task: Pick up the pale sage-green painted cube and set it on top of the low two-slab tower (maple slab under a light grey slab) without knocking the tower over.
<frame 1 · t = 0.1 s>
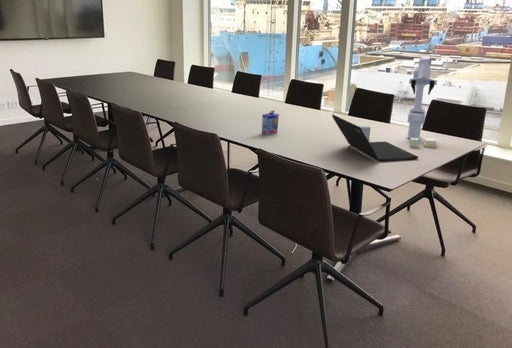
hand: (421, 93, 263), 32 cm above the table, tool tilted 50°, fingers open, 7 cm apart
laptop: (371, 153, 264), on the table
bottom slab: (429, 146, 281), on the table, touching top slab
top slab: (429, 143, 281), point 2 cm above the table, touching bottom slab
medicine box: (361, 140, 288), on the table
cube: (413, 146, 279), on the table
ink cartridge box: (269, 133, 297), on the table
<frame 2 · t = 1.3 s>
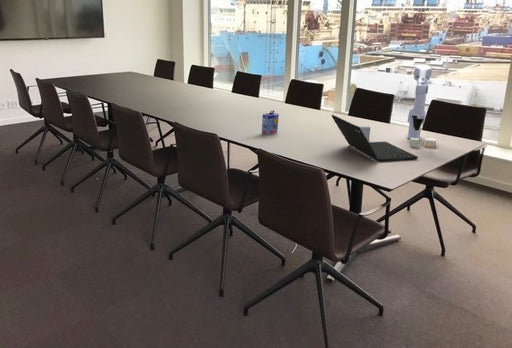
hand: (415, 129, 275), 10 cm above the table, tool pointing down, fingers open, 7 cm apart
nothing on the table moved.
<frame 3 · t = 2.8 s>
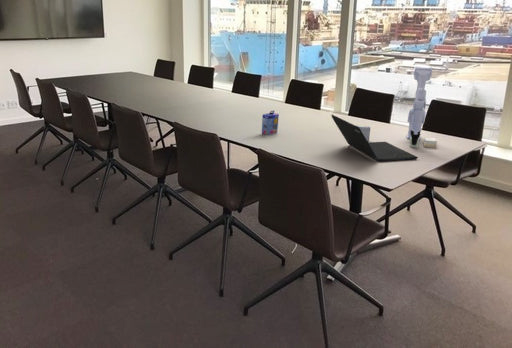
hand: (413, 143, 279), 1 cm above the table, tool pointing down, fingers closed on cube, 4 cm apart
bottom slab: (429, 146, 281), on the table
top slab: (429, 143, 280), point 2 cm above the table
cube: (413, 146, 279), on the table, touching gripper
everything else where it was.
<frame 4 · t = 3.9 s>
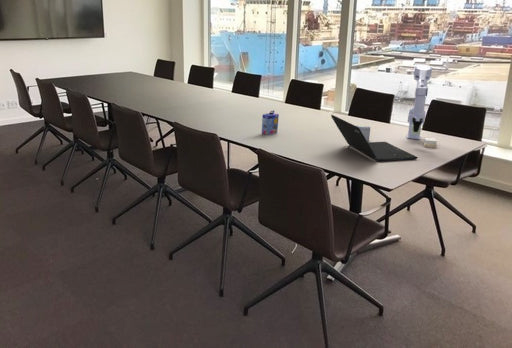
hand: (415, 131, 276), 9 cm above the table, tool pointing down, fingers closed on cube, 4 cm apart
bottom slab: (429, 146, 281), on the table, touching top slab
top slab: (429, 143, 281), point 2 cm above the table, touching bottom slab
cube: (415, 133, 277), point 8 cm above the table, touching gripper
everything else where it was.
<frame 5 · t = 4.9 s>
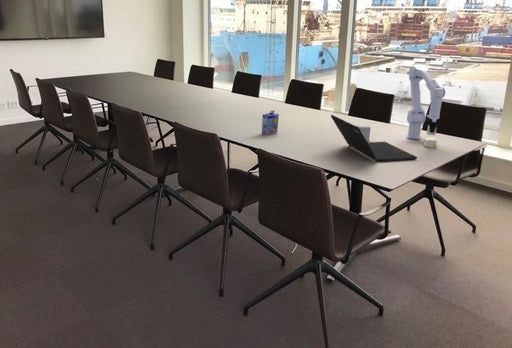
hand: (431, 131, 278), 9 cm above the table, tool pointing down, fingers closed on cube, 4 cm apart
cube: (431, 134, 279), point 7 cm above the table, touching gripper
everything else where it was.
when the fingers open (7 cm above the table, at t = 5.6 s): cube drops 2 cm, resting on top slab.
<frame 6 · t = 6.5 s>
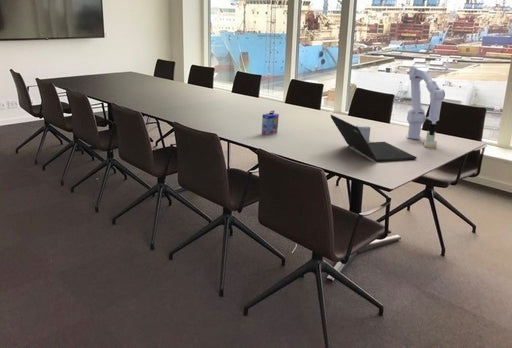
hand: (431, 133, 279), 7 cm above the table, tool pointing down, fingers open, 7 cm apart
top slab: (429, 143, 281), point 2 cm above the table, touching bottom slab, cube
cube: (430, 139, 280), point 4 cm above the table, touching top slab
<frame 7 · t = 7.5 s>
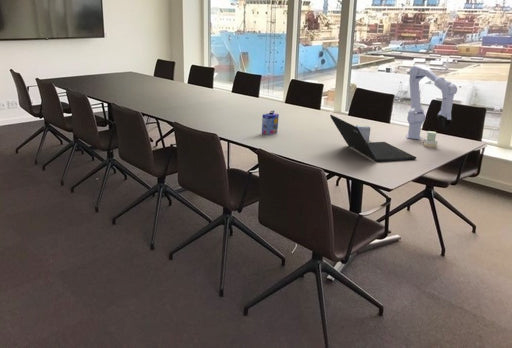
hand: (442, 129, 277), 10 cm above the table, tool pointing down, fingers open, 7 cm apart
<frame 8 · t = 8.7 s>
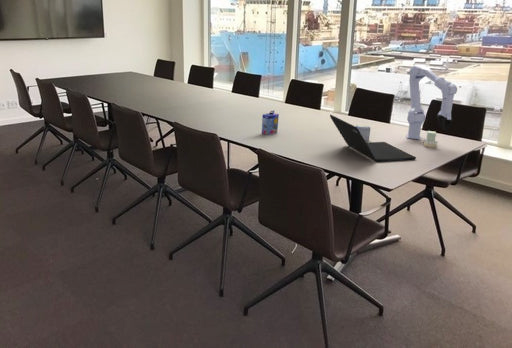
hand: (442, 129, 277), 10 cm above the table, tool pointing down, fingers open, 7 cm apart
at the end: cube 0.4 cm off-centre on the top slab, point 2.3 cm above the top slab's base; top slab 0.2 cm from the bottom slab (horizontally); cube tilted 2° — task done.
